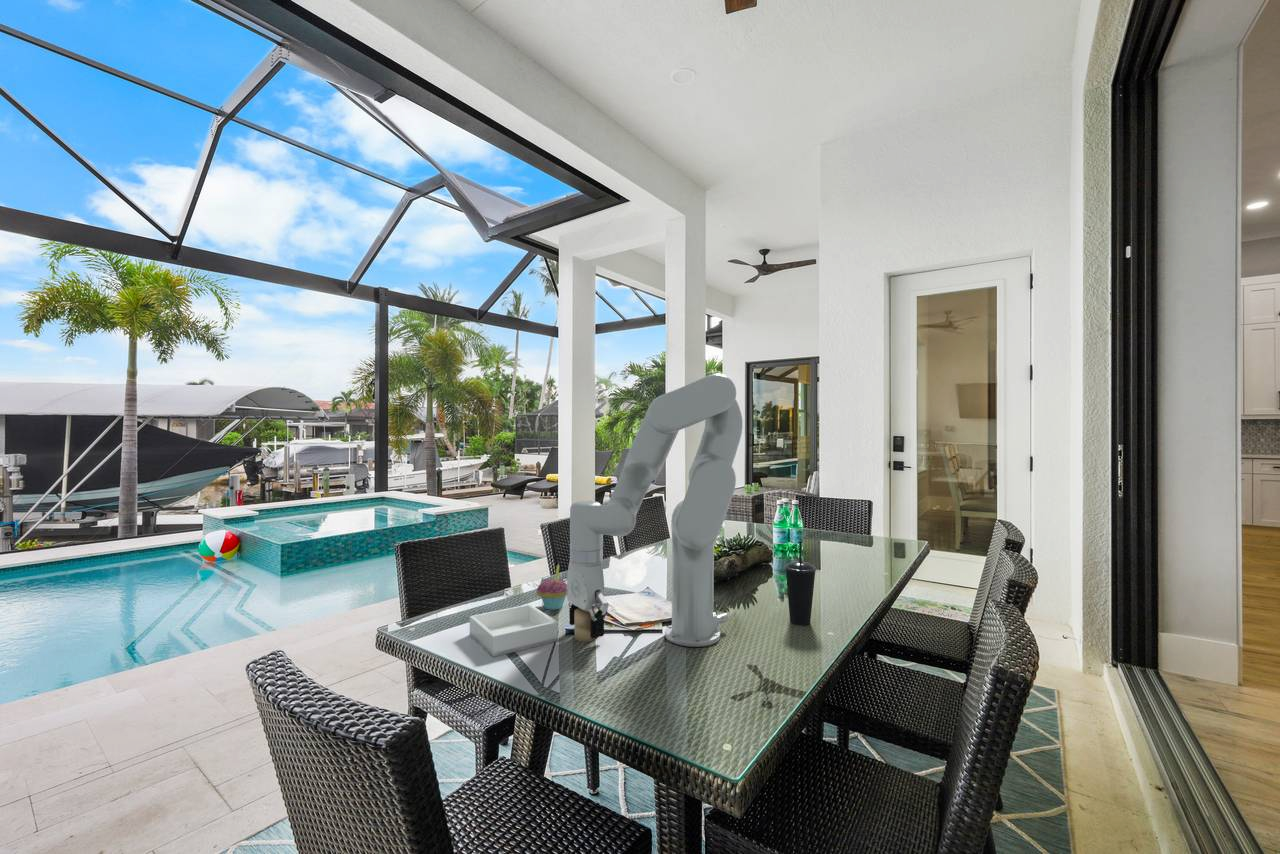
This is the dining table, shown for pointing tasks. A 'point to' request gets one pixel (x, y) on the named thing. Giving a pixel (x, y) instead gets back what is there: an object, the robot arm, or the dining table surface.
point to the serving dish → (513, 629)
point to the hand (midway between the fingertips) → (586, 630)
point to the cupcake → (553, 592)
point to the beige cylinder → (582, 625)
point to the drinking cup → (800, 589)
